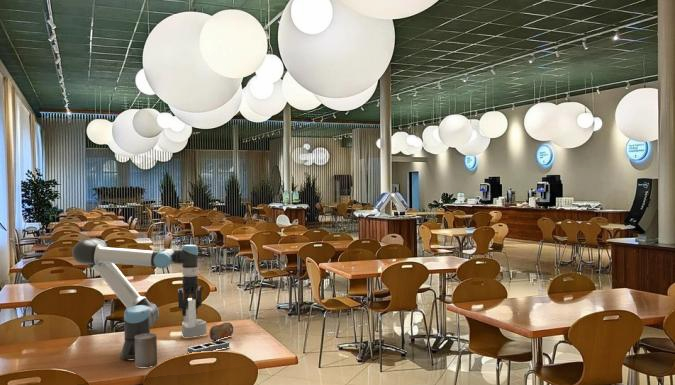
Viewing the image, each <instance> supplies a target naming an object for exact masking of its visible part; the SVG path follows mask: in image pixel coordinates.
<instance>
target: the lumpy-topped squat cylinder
mask: <svg viewBox="0 0 675 385" xmlns="http://www.w3.org/2000/svg"><path fill="white" fill-rule="evenodd" d="M207 330H208V329H207V321H205V320H202V319H201V318H196V321H195V327H191V328H187V327H184V321H182V322H181V335H182V334H183V336H184V337H193V336H200V335H204V334H206V333H207V332H208V331H207ZM183 336H182V337H183Z"/></svg>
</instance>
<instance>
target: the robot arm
mask: <svg viewBox="0 0 675 385" xmlns="http://www.w3.org/2000/svg"><path fill="white" fill-rule="evenodd" d="M71 253H72V254H71V255H72V258H73V260H75V262H77V263H79V264H81V265H86V266H88V268H89V269H90V270H92V271H96V272H97V273H98V274H99V275H100V277H101V278H102V279H103V281H104V282H105V283H106V284H107V285H108V287H109V288H110V290H112V291H113V293H114V294H115V295H116V297H117V298H118V299H119V300H120V301H121V303H122V304H123V305H124V307H125V308H126V309H125V310H124V313H123V314H124V315H123V323H124V324H123V325H124V326H123V327H124V328H123V329H124V330H123V331H124V332H123V333H124V340H123V341H124V342H123V345H122V349H121V352H120V359H121V358H122V359H121V360H124V359H135V338H134V337H135V336H136V335H139V334H145V333H151V329H150V328H151V327H152V326H154V324H156V322H157V320H158V319H159V314H160V310H159V307H157V305H156V304H155V303H153V302H151V301H149V300H148V298H147V297H146V296H141V295H140V293H139V292H138V291H137V290H136V288H134V286H133V285H132V283H130V281H129V280H128V279H127V277H126V276H125V275H124V274H123V273H122V271H121V270H120V269H119V267H118V266H117V265H128V266H129V265H130V266H142V267H143V266H145V267H156V268H159V269H166V268H168V267H170V266H171V265H176V264H177V265H180V264H181V265H182V281H181V283H182V286H181V288H177V290H176V291H177V297H178V298H177V299H178V301H177V302H178V309H179V310H181V311H182V312H181V313H182V314H181V316H183V322H186V323H188V310H187V309H186V308H187V303H188V299H189V298H190V296H191V298H192V299H196V306H195V321H196V320H197V314H198V309H199V307H201V306H202V292H203V288H204V287H203V286H201V285H199V284H198V282H199V280H198V278H199V277H198V275H199V274H198V270H199V269H198V268H199V266H198V262H199V260H198V259H199V257H198V256H199V250H198V246H197V245H196V244H184V245H182V248H160V249H159V250H150V249H149V250H147V249H146V250H145V249H135V248H133V249H132V248H122V247H121V248H118V247H108V246H107V242H105V241H104V240H103V239H100V238H96V237H95V238H94V237H93V238H92V237H91V238H88V239H85V240H80V241H78V242H77V243H76V244H74V246H73V248H72V251H71Z"/></svg>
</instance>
